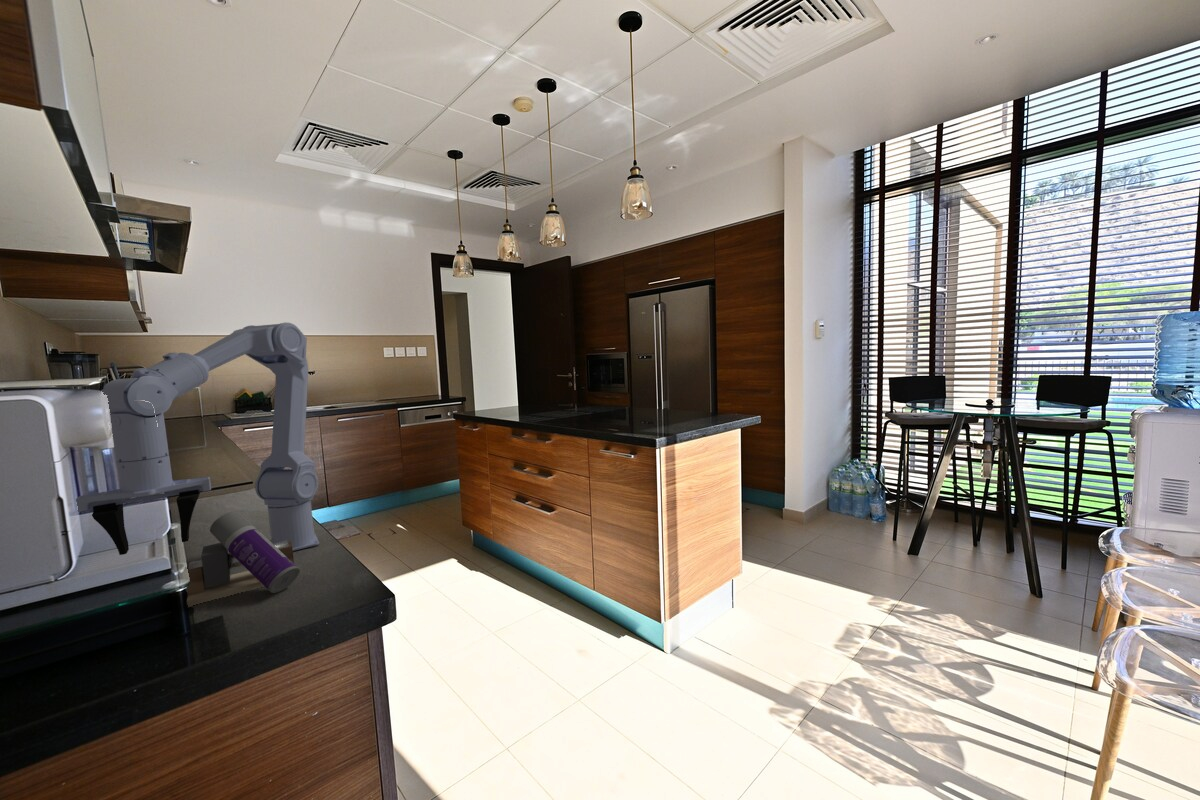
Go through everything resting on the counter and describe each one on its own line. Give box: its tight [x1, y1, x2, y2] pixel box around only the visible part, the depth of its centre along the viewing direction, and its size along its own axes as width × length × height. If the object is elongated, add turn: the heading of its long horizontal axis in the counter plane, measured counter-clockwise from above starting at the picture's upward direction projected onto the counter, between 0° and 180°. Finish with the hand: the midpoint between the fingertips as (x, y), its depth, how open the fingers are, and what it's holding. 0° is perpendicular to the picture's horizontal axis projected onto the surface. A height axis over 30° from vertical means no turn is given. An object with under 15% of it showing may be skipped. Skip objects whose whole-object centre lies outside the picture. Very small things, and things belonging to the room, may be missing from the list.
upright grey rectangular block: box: [200, 542, 231, 588], centre depth 77 cm, size 5×3×5 cm, turn 37°
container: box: [209, 511, 301, 594], centre depth 77 cm, size 5×5×15 cm
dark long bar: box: [188, 540, 288, 575], centre depth 79 cm, size 3×13×3 cm, turn 127°
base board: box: [186, 541, 295, 608], centre depth 79 cm, size 7×14×5 cm, turn 127°
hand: (155, 546), depth 72 cm, fingers open, 6 cm apart
